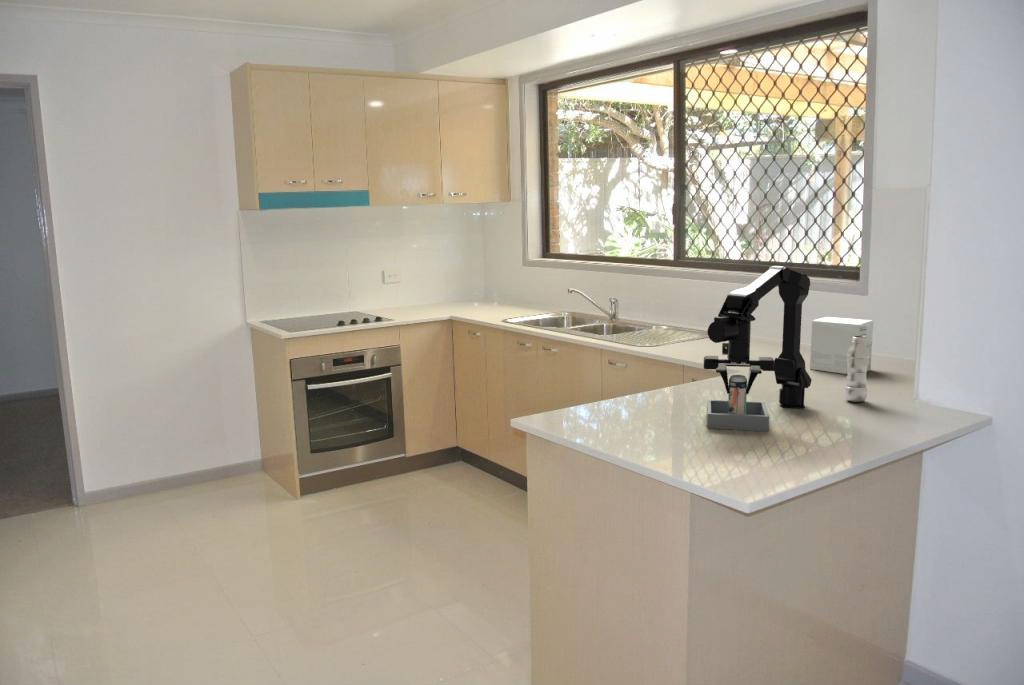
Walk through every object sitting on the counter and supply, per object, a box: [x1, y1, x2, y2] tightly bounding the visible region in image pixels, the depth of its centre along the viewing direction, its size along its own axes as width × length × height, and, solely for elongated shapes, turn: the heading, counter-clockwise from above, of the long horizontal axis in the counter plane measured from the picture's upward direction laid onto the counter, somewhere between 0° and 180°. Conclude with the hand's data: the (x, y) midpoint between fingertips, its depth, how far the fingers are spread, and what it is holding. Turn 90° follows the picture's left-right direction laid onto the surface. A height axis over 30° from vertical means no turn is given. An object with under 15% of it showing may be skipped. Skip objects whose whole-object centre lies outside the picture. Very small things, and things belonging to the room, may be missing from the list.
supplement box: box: [809, 316, 874, 375], centre depth 288 cm, size 17×13×18 cm
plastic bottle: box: [843, 336, 870, 403], centre depth 243 cm, size 6×7×20 cm
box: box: [706, 399, 770, 432], centre depth 225 cm, size 16×16×4 cm
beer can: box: [727, 374, 748, 415], centre depth 224 cm, size 5×5×12 cm
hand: (737, 393), depth 224 cm, fingers closed on beer can, 5 cm apart
